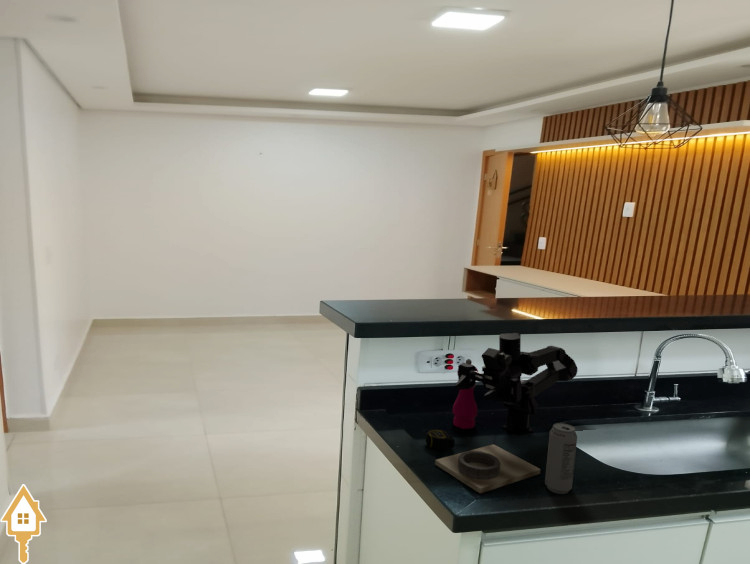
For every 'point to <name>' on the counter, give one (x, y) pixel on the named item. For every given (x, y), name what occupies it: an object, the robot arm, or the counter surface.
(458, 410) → the pepper mill
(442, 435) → the tape measure
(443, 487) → the counter surface
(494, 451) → the collar board
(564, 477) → the energy drink can
